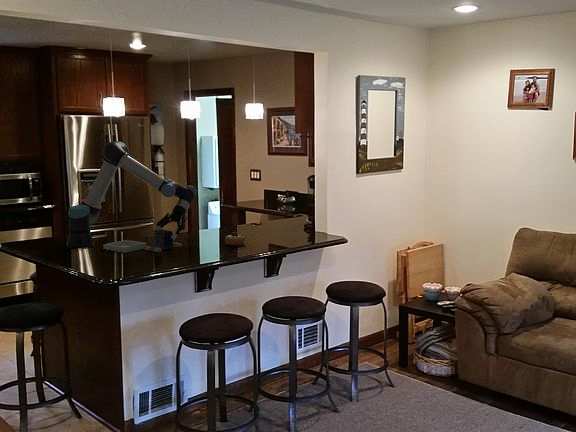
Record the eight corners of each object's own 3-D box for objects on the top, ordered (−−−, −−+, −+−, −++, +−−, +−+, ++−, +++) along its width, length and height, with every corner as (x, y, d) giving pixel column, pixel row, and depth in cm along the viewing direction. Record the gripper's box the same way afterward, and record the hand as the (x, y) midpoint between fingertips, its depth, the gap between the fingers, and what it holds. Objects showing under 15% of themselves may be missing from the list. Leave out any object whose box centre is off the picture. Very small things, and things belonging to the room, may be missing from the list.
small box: (173, 249, 357) (173, 230, 356) (164, 250, 352) (164, 232, 351) (162, 246, 364) (162, 228, 363) (153, 248, 359) (152, 230, 358)
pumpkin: (220, 245, 371) (220, 230, 369) (235, 242, 379) (235, 227, 378) (234, 247, 363) (234, 232, 361) (249, 245, 371) (249, 230, 370)
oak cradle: (144, 249, 354) (144, 246, 353) (166, 244, 369) (166, 241, 369) (160, 252, 347) (160, 248, 347) (182, 247, 363) (182, 243, 362)
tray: (103, 249, 354) (103, 244, 353) (125, 245, 368) (125, 240, 367) (124, 252, 345) (124, 247, 344) (146, 248, 359) (146, 242, 358)
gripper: (200, 214, 364) (183, 243, 353) (168, 211, 377) (151, 239, 366) (194, 206, 358) (177, 235, 348) (161, 203, 371) (144, 231, 361)
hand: (163, 237), depth 357 cm, fingers open, 13 cm apart
